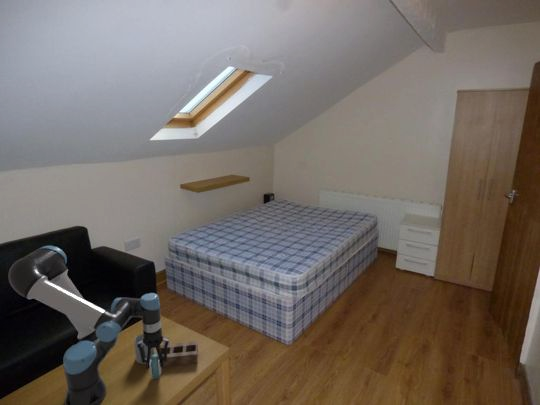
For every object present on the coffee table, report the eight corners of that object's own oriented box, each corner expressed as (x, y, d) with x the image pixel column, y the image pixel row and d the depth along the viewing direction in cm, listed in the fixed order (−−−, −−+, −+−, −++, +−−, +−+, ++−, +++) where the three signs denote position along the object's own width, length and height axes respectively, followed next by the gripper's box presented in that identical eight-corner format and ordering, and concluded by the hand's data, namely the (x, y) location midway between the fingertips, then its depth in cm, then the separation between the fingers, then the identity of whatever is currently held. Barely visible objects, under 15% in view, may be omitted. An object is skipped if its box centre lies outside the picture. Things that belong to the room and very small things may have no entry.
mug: (154, 362, 160) (152, 343, 157) (135, 365, 158) (133, 345, 155) (155, 345, 171) (154, 327, 168) (137, 348, 169) (135, 329, 166)
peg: (152, 379, 150) (150, 358, 147) (153, 374, 153) (151, 354, 150) (159, 379, 150) (157, 358, 147) (160, 373, 153) (158, 353, 150)
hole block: (158, 367, 157) (157, 358, 156) (160, 353, 166) (159, 345, 164) (197, 362, 161) (197, 354, 159) (197, 349, 169) (197, 341, 168)
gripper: (130, 335, 140) (135, 381, 146) (170, 332, 142) (173, 377, 149) (134, 324, 147) (138, 368, 153) (172, 321, 150) (175, 364, 156)
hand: (155, 372), depth 151 cm, fingers closed on peg, 3 cm apart
